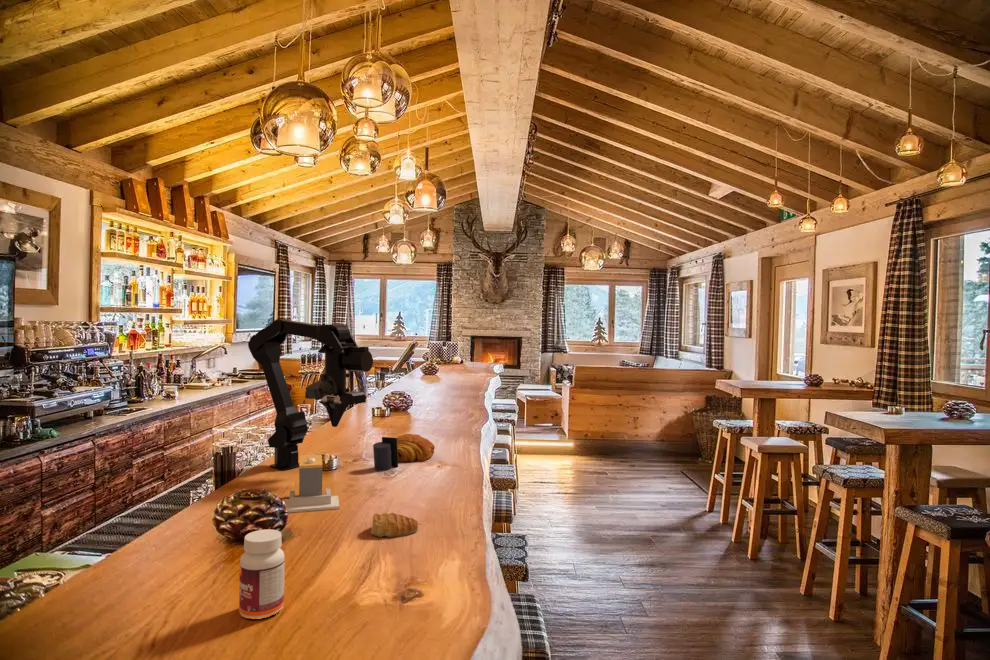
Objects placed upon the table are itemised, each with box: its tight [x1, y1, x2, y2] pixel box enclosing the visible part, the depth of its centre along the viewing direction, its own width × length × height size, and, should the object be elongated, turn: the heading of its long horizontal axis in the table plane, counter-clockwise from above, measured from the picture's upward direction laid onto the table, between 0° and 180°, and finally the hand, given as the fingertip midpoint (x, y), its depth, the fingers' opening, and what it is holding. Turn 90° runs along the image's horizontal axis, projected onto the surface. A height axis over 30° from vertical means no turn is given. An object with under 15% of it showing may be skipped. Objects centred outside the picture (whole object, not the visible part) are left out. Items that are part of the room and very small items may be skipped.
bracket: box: [282, 487, 340, 514], centre depth 135 cm, size 8×13×2 cm, turn 107°
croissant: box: [396, 433, 436, 463], centre depth 183 cm, size 14×16×8 cm
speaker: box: [372, 436, 399, 472], centre depth 169 cm, size 6×5×9 cm
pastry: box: [370, 512, 419, 538], centre depth 120 cm, size 9×7×4 cm
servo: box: [298, 454, 323, 497], centre depth 139 cm, size 10×5×10 cm, turn 18°
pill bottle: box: [238, 528, 285, 618], centre depth 87 cm, size 6×6×11 cm
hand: (334, 426), depth 162 cm, fingers closed
